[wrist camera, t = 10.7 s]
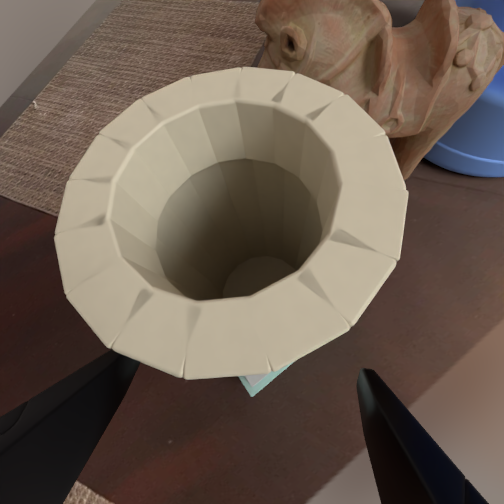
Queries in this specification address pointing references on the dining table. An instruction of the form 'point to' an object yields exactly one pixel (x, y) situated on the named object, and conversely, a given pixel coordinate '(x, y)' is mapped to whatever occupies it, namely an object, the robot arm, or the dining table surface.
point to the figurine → (389, 61)
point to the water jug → (477, 121)
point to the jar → (231, 223)
